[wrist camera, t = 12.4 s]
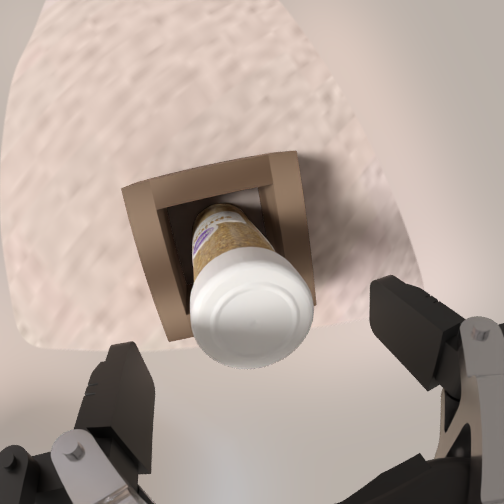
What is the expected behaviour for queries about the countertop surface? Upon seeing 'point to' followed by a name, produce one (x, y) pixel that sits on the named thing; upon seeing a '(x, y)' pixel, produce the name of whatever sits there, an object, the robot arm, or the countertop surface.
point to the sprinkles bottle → (244, 293)
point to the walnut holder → (203, 186)
